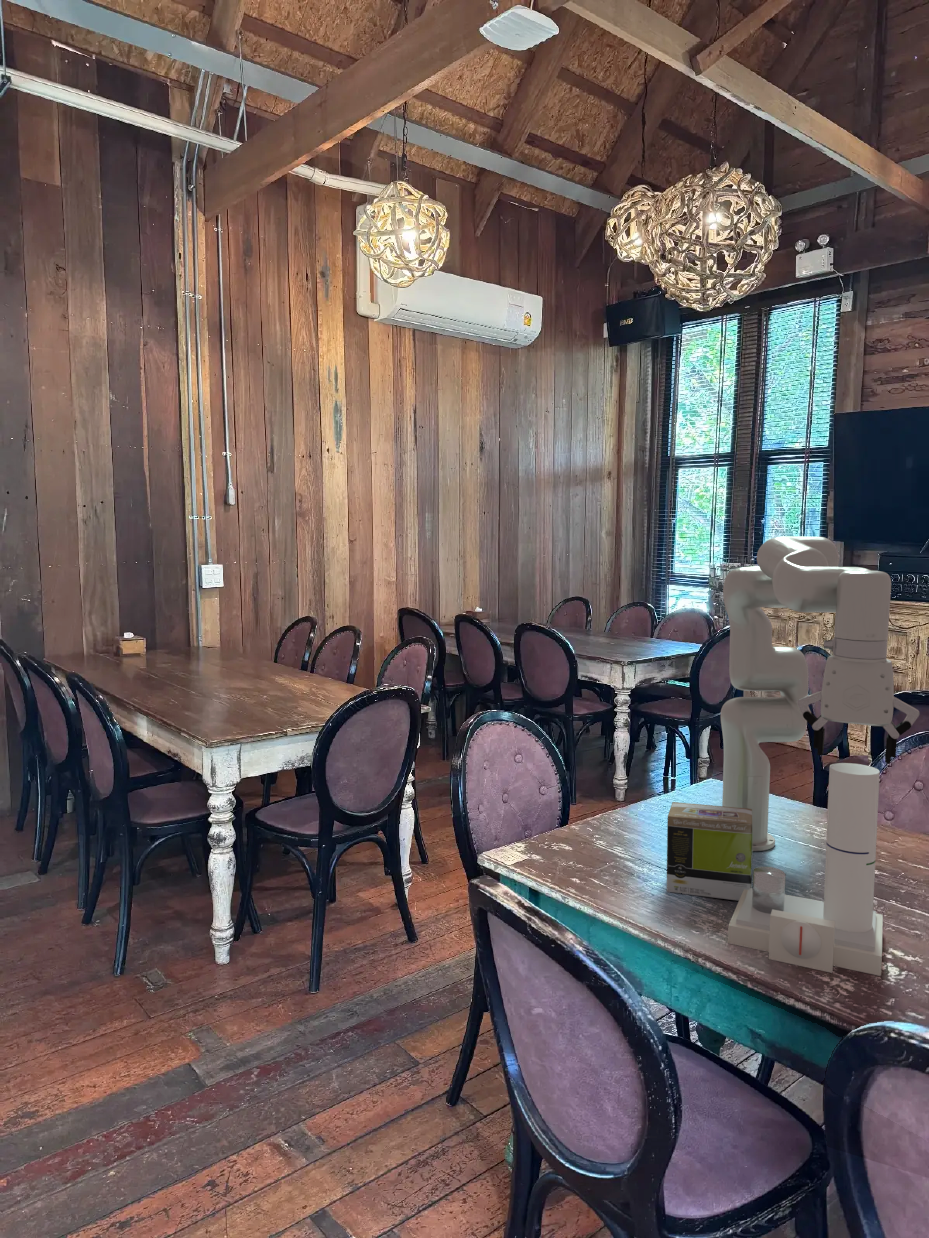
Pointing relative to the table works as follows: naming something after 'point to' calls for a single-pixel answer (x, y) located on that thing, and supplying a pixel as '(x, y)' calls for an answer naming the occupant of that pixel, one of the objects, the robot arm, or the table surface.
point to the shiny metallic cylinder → (768, 889)
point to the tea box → (709, 850)
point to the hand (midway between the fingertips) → (853, 757)
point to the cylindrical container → (851, 846)
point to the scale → (806, 936)
